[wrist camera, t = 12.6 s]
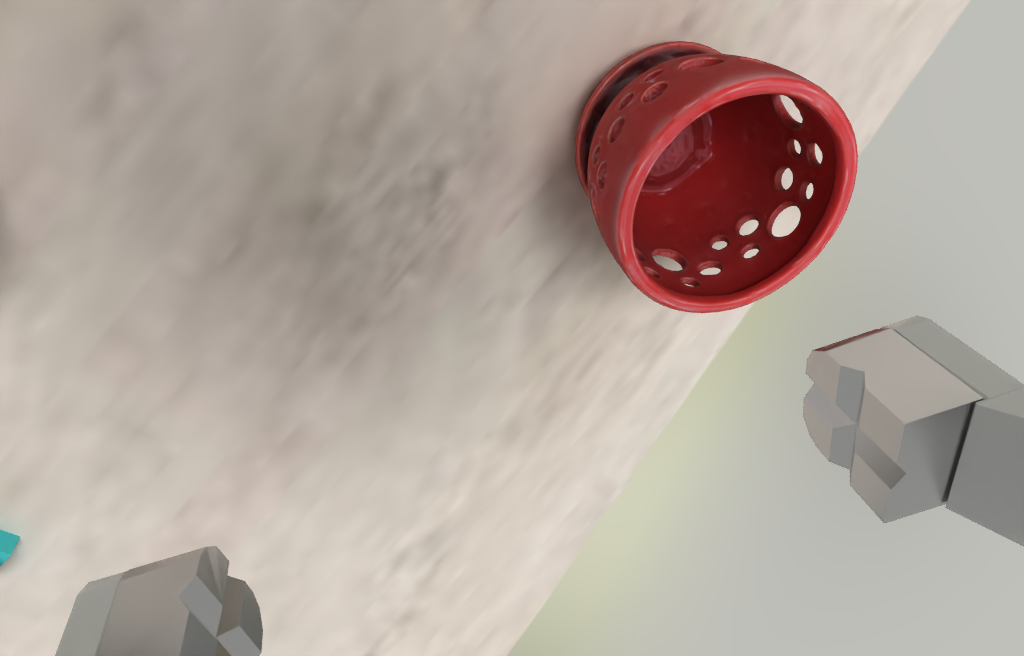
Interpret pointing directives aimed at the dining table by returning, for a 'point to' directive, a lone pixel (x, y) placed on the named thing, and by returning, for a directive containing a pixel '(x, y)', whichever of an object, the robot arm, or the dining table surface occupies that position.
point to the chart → (7, 545)
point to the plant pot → (711, 172)
